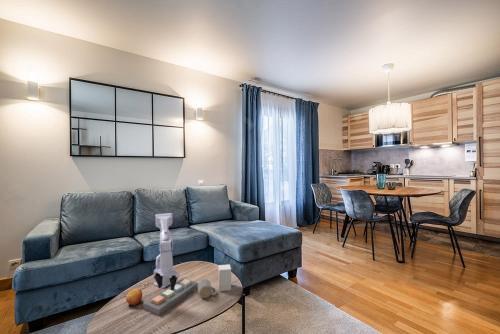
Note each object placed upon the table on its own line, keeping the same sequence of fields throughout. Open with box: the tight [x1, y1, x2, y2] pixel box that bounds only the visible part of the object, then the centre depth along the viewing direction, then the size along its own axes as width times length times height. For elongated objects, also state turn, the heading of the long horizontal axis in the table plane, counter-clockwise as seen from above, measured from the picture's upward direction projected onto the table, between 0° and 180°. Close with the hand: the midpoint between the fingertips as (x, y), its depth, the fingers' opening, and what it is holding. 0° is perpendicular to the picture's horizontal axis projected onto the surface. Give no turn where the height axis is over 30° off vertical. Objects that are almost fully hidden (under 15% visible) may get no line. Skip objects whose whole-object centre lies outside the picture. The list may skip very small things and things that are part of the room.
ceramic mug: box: [197, 278, 218, 299], centre depth 132 cm, size 11×8×8 cm
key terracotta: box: [152, 295, 165, 305], centre depth 121 cm, size 4×4×2 cm
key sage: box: [162, 289, 174, 299], centre depth 127 cm, size 4×4×2 cm
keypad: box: [142, 277, 199, 316], centre depth 130 cm, size 12×29×3 cm, turn 152°
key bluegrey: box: [172, 284, 183, 293], centre depth 132 cm, size 4×4×2 cm
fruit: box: [125, 287, 143, 306], centre depth 125 cm, size 8×8×8 cm
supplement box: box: [217, 263, 232, 292], centre depth 139 cm, size 7×7×13 cm
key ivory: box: [180, 278, 192, 287], centre depth 138 cm, size 4×4×2 cm
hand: (166, 288), depth 123 cm, fingers open, 7 cm apart
